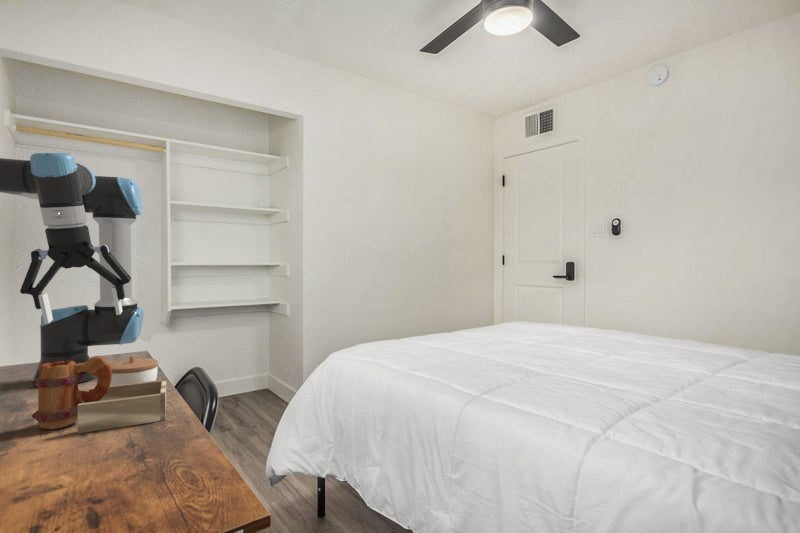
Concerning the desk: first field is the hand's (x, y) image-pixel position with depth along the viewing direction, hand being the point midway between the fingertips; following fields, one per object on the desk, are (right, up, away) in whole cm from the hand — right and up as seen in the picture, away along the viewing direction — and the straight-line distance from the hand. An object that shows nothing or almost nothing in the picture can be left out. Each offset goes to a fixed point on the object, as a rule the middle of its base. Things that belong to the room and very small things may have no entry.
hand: (85, 317), depth 97 cm
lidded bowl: (-2, -24, +20) cm, 32 cm away
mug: (-2, -24, -1) cm, 25 cm away
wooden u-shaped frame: (+7, -24, +4) cm, 25 cm away
